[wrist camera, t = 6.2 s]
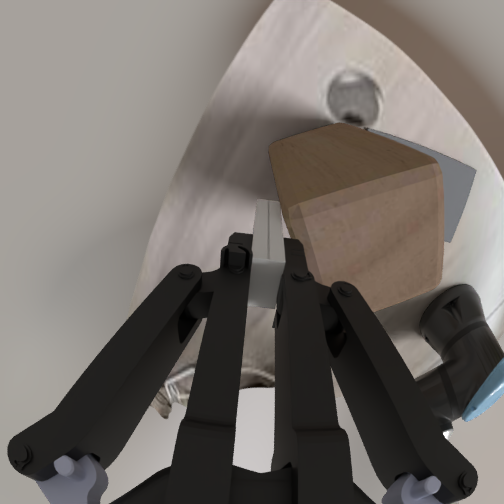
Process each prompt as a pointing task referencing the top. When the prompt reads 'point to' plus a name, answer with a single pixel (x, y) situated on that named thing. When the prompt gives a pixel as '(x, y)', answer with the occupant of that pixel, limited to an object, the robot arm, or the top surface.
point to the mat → (447, 184)
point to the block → (363, 210)
